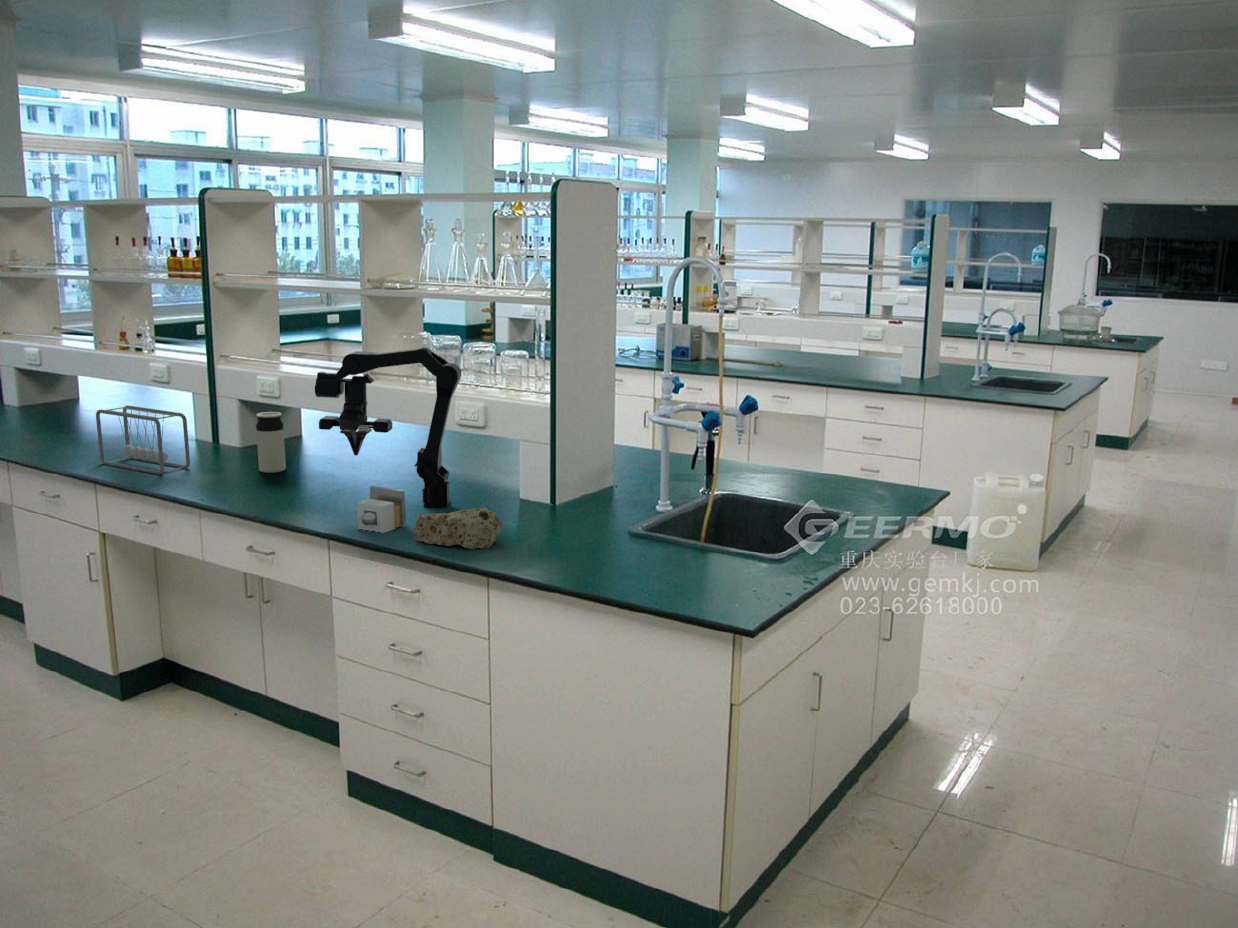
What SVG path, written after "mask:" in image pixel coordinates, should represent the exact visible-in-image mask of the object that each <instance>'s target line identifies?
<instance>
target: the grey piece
mask: <svg viewBox="0 0 1238 928" xmlns="http://www.w3.org/2000/svg"><path fill="white" fill-rule="evenodd" d="M405 495H406V494H405V490H404V489H397V488H396V489H395V488H392V487H391V488H390V487H383V486H376V485H371V486H369V499H375V500H382V501H388V502H394V504H400V505H401V527H402V526H406V525H407V522H406V518H407V517H406V496H405ZM361 521H362V523H363V524H364V525H366V526H367V525H370V524H373V523H375V522H377V512H373V511H371V512H368V513H365V514H363V515H362V516H361Z"/></svg>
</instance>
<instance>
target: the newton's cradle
mask: <svg viewBox="0 0 1238 928" xmlns="http://www.w3.org/2000/svg"><path fill="white" fill-rule="evenodd" d="M121 409H122V410H121ZM117 410H121V411H117ZM127 411H129V412H127ZM133 411H134V413H133ZM135 412H138V413H135ZM141 413H144V414H141ZM145 413H146V415H145ZM101 414H104V415H105V414H106V415H110V416H111V415H112V416H118V419H119V420H118V421H119V423H120V426H121V430H122V434H123V437H124V438H123V439H124V441H125V445H124V446H123V447H122V449H121V453H122V454H123V456H124V457H125V458H121V459H115V460H111V461H107V460H106V459H105V456H104V455H105V454H104V444H103V443H104V442H103V433H102V424H101V423H102V422H101ZM149 414H152V415H150V416H149ZM153 414H154V416H153ZM156 414H157V415H156ZM159 415H161V416H162V417H156V416H159ZM121 417H123V425H122V422H121V419H120V418H121ZM173 417H180V418H181V419H182V428H183V439H184V441H183V442H184V451H185V464H181V463H175V462H169V461H167V460H168V453H167V452H166V451H164V450H163V434H164V426H162V430H161V423H160V420H161V419H162V421H164V419H168V418H173ZM95 418H96V419H95V421H96V430H97V431H96V432H97V440H98V441H97V442H98V451H99V458H100V461H101V463H102V464H103V465H107V466H111V467H117V468H120V469H121V468H122V469H125V470H126V469H127V470H133V471H138V472H143V473H149V474H153V475H162V474H163V473H167V472H171V471H172V472H173V471H176V470H180V469H182V470H183V469H184V470H186V469H189V468H190V465H191V459H190V457H191V456H190V445H189V444H190V443H189V433H188V431H189V430H188V421H187V417H186V415H185V414H184V413H181V412H176V411H169V410H161V409H154V408H148V407H141V406H133V405H129V404H128V405H125V406H121V407H115V408H110V409H98V410H97V411H96V412H95ZM128 418H130V423H129V419H128ZM132 419H134V423H135V427H136V430H137V433H136V440H138V438H139V442H140V445H141V447H140V446H138V444H136V445H135V442H134V438H133V434H132V431H131V425H132V424H131V423H132ZM136 419H137V421H138V422H137V421H136ZM140 420H142V423H143V426H144V428H143V429H144V431H145V435H144V436H145V437H144V441H146V439H147V441H148V446H149V449H148V448H147V447H146V444H144V446H143V444H142V440H141V436H140V432H139V426H140V425H139V424H140V423H139V422H140ZM144 420H145V421H146V423H144ZM148 421H150V424H151V428H152V431H153V436H152V442H154V439H155V441H156V445H157V449H158V450H156V449H154V446H151V444H150V440H149V437H148V435H147V434H148V433H147V425H148ZM152 422H153V423H152ZM153 424H154V426H153ZM123 428H124V429H123ZM155 428H156V433H155ZM156 435H157V436H156ZM146 437H147V438H146ZM130 438H131V439H132V444H133V445H131V443H130ZM129 459H130V460H135V461H139V460H141V461H140V462H145V461H146V463H150V462H151V464H157V465H159V470H156V469H151V468H146V467H139V466H136V465H135V466H134V465H128V464H125V463H118V462H120V461H125V460H129ZM165 466H167V467H168V466H169V467H172V466H173V467H174V468H173V467H172V469H168V470H167V469H166V470H165Z"/></svg>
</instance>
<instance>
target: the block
mask: <svg viewBox="0 0 1238 928" xmlns="http://www.w3.org/2000/svg"><path fill="white" fill-rule="evenodd" d="M356 511H357V515H356V516H357V530H359V529H363V530H362V531H365V530H369V531H368V532H371V531H376V532H375V533H377V532H381V533H380V534H383V533H384V534H386V533H389V532H391V531H393V529H394V530H395V529H396V528H395V517H394V502H388V501H382V500H375V499H370V498H366V499H363V500H361V501H357V502H356ZM371 511H373V512H377V522H375V523H373V524H370V525H367V526H366V525H364V524H363V523H362V521H361V516H362V515H363V514H365V513H368V512H371ZM390 530H391V531H390ZM388 531H389V532H388ZM385 532H386V533H385Z"/></svg>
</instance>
